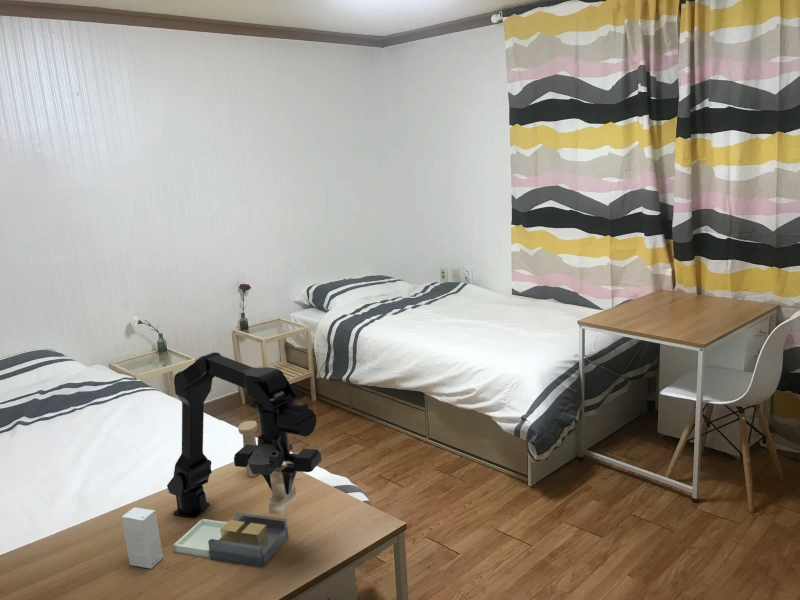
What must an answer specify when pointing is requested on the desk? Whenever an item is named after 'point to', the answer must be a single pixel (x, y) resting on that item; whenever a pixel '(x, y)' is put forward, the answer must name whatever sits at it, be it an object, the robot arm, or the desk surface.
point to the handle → (248, 437)
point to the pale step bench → (280, 493)
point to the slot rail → (251, 552)
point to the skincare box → (142, 537)
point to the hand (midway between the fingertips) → (281, 493)
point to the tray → (199, 538)
